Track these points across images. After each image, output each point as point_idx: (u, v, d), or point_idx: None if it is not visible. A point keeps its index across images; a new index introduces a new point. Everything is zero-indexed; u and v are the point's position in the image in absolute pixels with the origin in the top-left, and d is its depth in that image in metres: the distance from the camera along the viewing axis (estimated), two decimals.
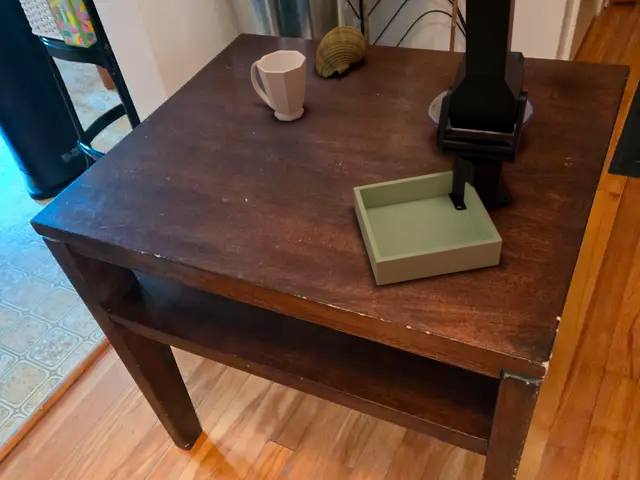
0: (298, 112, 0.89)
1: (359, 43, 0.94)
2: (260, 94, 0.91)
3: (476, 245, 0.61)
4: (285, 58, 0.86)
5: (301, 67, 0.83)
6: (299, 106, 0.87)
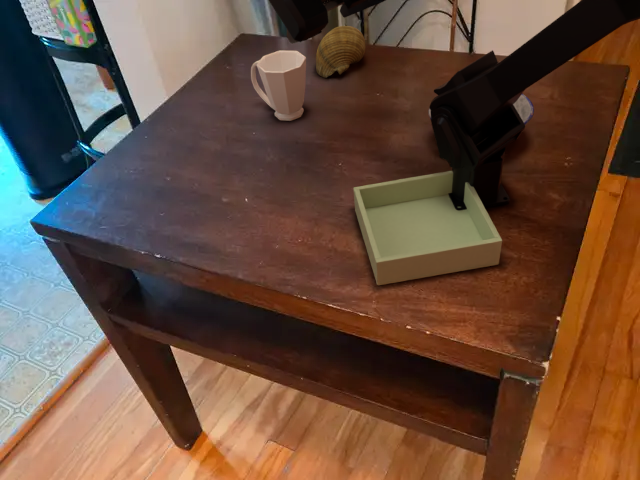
0: (298, 112, 0.89)
1: (359, 43, 0.94)
2: (260, 94, 0.91)
3: (476, 245, 0.61)
4: (285, 58, 0.86)
5: (301, 67, 0.83)
6: (299, 106, 0.87)
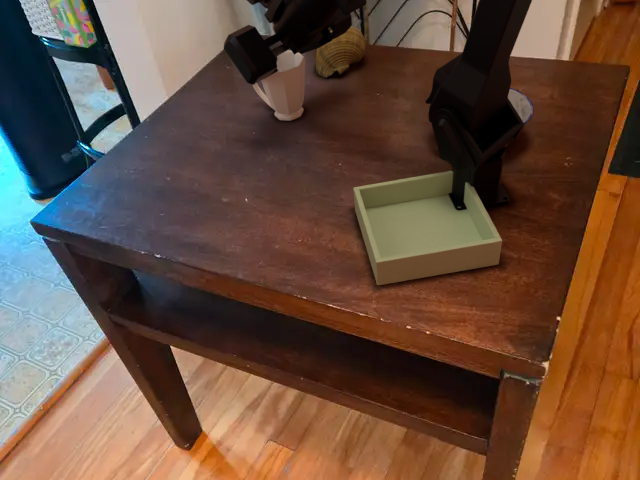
0: (298, 112, 0.89)
1: (359, 43, 0.94)
2: (260, 94, 0.91)
3: (476, 245, 0.61)
4: (284, 58, 0.86)
5: (300, 67, 0.83)
6: (299, 106, 0.87)
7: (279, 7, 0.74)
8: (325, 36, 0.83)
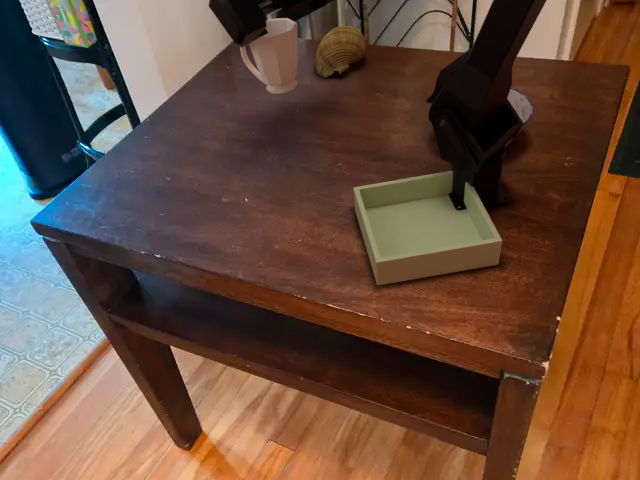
0: (291, 85, 0.83)
1: (359, 43, 0.94)
2: (251, 69, 0.85)
3: (476, 245, 0.61)
4: (275, 27, 0.81)
5: (292, 32, 0.77)
6: (292, 77, 0.82)
7: None
8: (319, 0, 0.78)
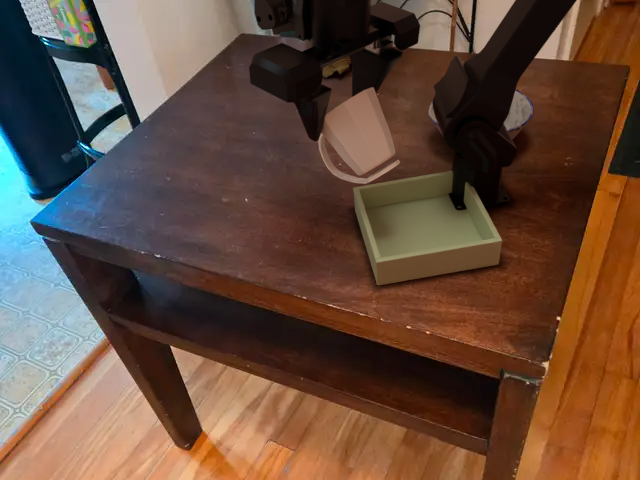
0: (392, 163, 0.62)
1: None
2: (342, 176, 0.67)
3: (476, 245, 0.61)
4: None
5: (368, 93, 0.60)
6: (388, 150, 0.61)
7: (305, 9, 0.56)
8: (391, 53, 0.61)
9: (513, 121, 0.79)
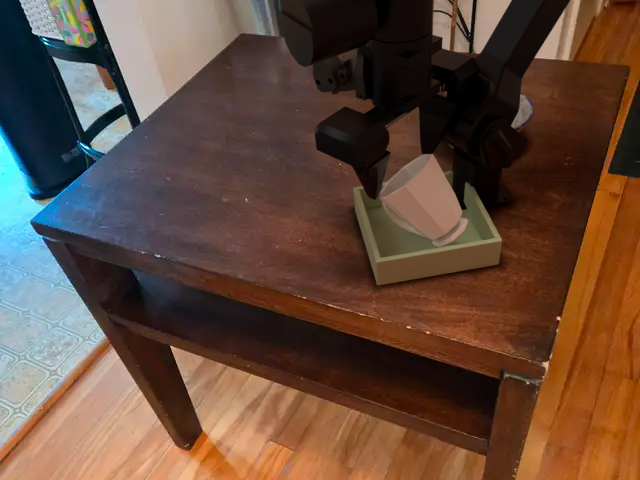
0: (460, 226, 0.62)
1: None
2: (409, 230, 0.67)
3: (476, 245, 0.61)
4: (414, 171, 0.63)
5: (428, 168, 0.58)
6: (455, 217, 0.61)
7: (365, 70, 0.55)
8: (459, 94, 0.61)
9: (513, 121, 0.79)
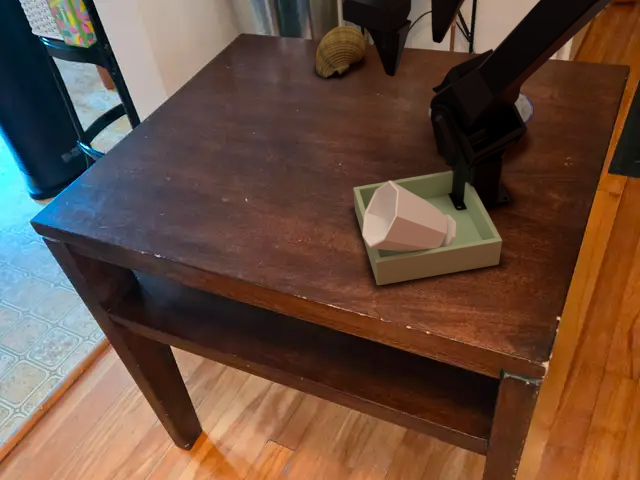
0: (449, 232, 0.62)
1: (359, 43, 0.94)
2: None
3: (476, 245, 0.61)
4: (387, 193, 0.62)
5: (399, 212, 0.58)
6: (441, 233, 0.61)
7: None
8: None
9: None
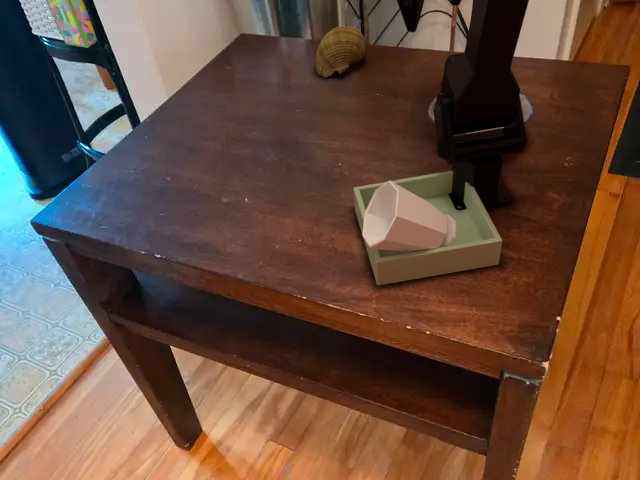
0: (449, 232, 0.62)
1: (359, 43, 0.94)
2: None
3: (476, 245, 0.61)
4: (387, 193, 0.62)
5: (399, 212, 0.58)
6: (441, 233, 0.61)
7: None
8: None
9: None
